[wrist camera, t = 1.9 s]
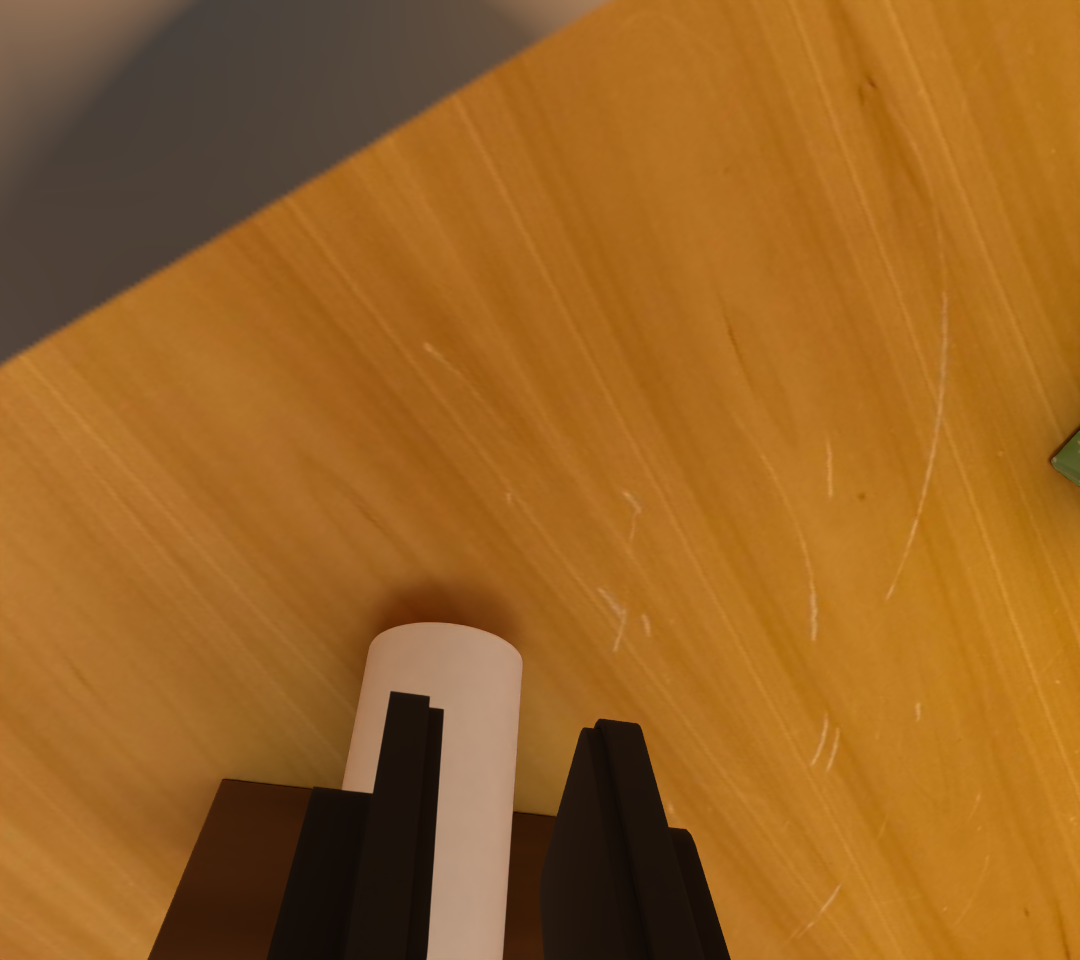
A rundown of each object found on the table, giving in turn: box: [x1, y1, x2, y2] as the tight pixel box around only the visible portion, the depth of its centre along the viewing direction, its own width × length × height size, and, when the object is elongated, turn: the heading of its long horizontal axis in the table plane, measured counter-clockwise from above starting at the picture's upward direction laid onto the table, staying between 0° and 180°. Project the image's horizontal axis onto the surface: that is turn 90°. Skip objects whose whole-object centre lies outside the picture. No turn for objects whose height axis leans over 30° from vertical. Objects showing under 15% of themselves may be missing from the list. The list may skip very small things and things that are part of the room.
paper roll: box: [342, 622, 523, 960], centre depth 23 cm, size 9×5×11 cm, turn 168°
